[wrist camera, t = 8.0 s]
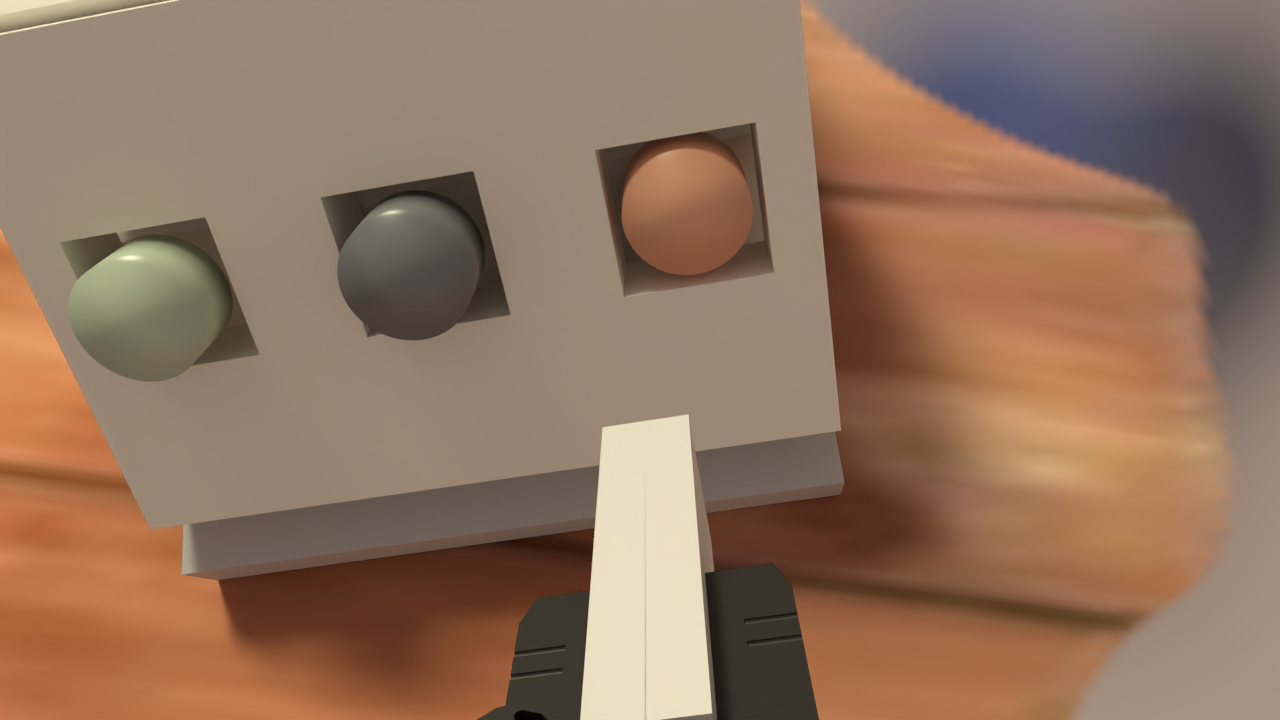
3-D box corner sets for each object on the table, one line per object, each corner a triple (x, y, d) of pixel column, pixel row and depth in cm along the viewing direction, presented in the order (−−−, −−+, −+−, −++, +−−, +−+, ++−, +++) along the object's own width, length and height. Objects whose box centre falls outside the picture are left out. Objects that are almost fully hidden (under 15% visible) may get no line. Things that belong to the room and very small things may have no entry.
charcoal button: (381, 365, 31) (320, 318, 27) (377, 239, 33) (318, 175, 29) (501, 347, 31) (458, 295, 27) (492, 220, 32) (450, 152, 28)
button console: (217, 580, 39) (-155, 520, 23) (226, 202, 44) (-72, -52, 29) (840, 494, 37) (889, 365, 21) (769, 108, 42) (766, -223, 27)
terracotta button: (640, 303, 32) (620, 247, 28) (626, 182, 34) (604, 112, 29) (760, 284, 32) (758, 225, 28) (740, 163, 33) (735, 89, 29)
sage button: (135, 404, 32) (37, 363, 28) (141, 279, 34) (49, 222, 29) (249, 386, 32) (168, 342, 27) (251, 261, 33) (174, 200, 29)
